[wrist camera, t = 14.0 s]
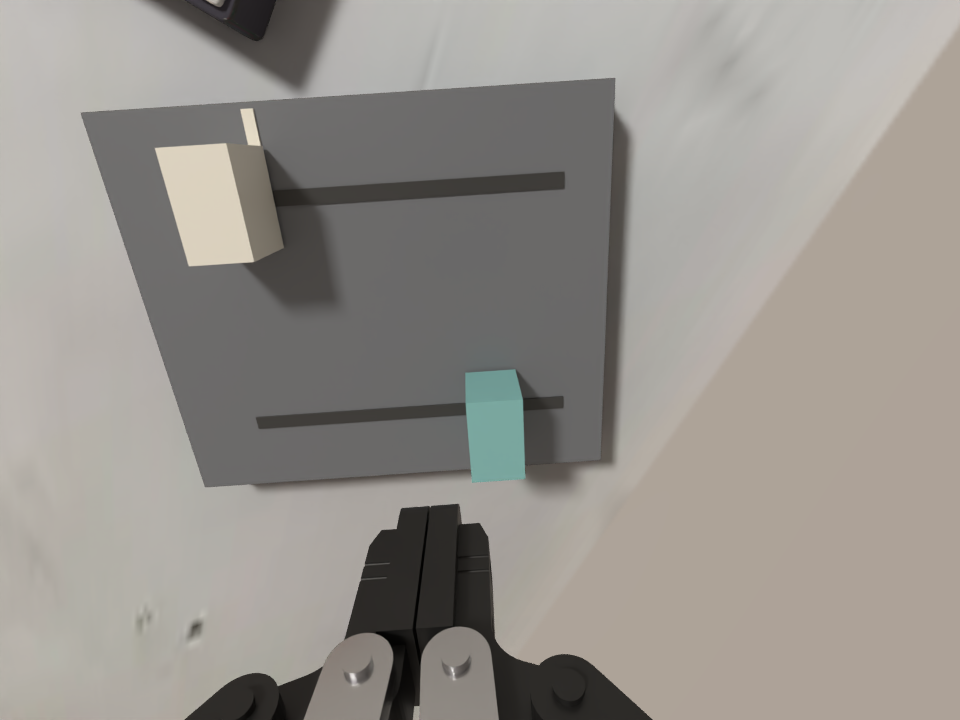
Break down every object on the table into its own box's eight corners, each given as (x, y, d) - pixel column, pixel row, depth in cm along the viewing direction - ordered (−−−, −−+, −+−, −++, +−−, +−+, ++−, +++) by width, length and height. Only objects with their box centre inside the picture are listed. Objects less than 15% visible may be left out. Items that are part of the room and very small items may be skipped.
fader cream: (262, 146, 24) (226, 143, 20) (284, 247, 26) (254, 262, 22) (202, 150, 24) (154, 147, 20) (227, 251, 26) (188, 266, 22)
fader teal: (515, 369, 29) (522, 399, 25) (517, 441, 31) (525, 478, 27) (465, 372, 29) (465, 403, 25) (471, 444, 31) (471, 482, 27)
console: (599, 86, 26) (615, 77, 24) (589, 436, 35) (600, 461, 32) (120, 117, 26) (79, 112, 23) (225, 461, 35) (204, 488, 32)
